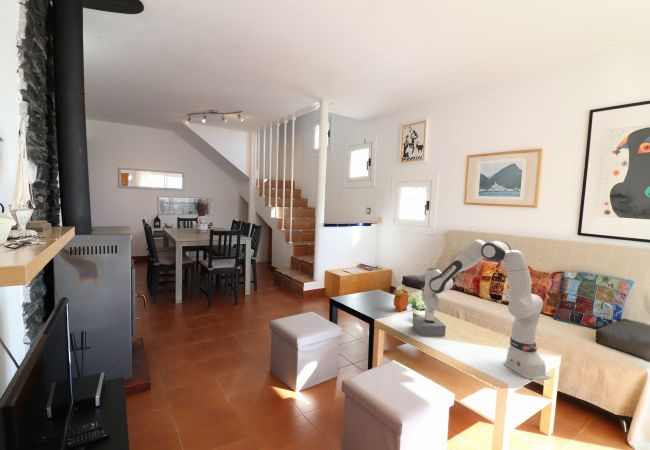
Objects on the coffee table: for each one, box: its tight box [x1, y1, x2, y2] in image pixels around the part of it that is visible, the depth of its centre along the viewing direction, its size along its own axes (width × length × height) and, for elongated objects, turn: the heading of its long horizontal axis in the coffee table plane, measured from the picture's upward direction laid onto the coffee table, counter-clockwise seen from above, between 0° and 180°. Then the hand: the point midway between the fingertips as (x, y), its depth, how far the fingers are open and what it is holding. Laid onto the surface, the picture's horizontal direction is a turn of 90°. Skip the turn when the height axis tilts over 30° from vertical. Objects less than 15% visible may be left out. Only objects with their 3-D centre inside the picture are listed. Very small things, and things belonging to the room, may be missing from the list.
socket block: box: [412, 316, 447, 337], centre depth 221 cm, size 16×16×7 cm
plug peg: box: [424, 303, 435, 320], centre depth 221 cm, size 4×4×11 cm
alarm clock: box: [393, 285, 410, 313], centre depth 261 cm, size 13×6×20 cm, turn 133°
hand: (429, 311), depth 221 cm, fingers closed on plug peg, 4 cm apart
